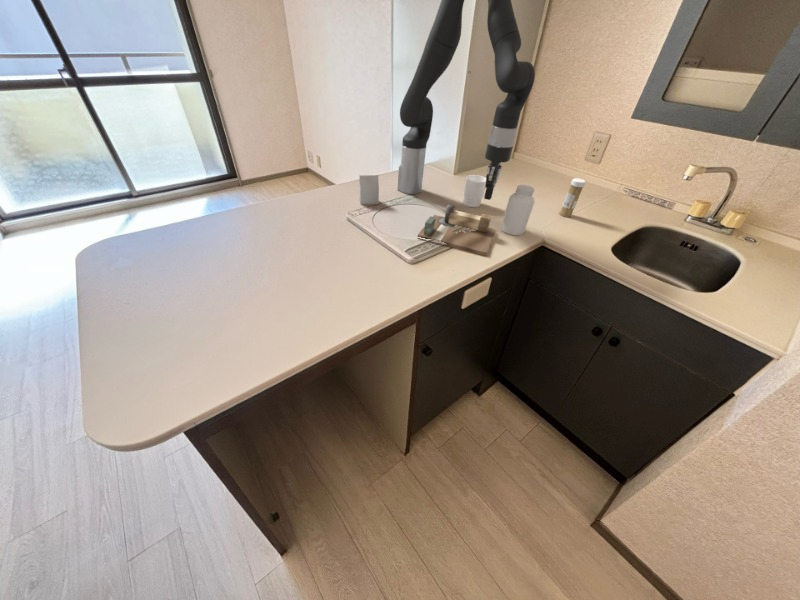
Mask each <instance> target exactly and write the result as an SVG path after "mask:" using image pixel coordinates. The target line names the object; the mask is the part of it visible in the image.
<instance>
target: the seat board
mask: <svg viewBox="0 0 800 600" xmlns="http://www.w3.org/2000/svg"><path fill="white" fill-rule="evenodd" d="M444 219H445V216H441V215H437V214H434V215H433V216H429V217H428V218H427V220H426V221H425V223H424V226H423V228H422V229H421V230H420V231H419V232H418V234H417V237H421V238H425V239H434V240H438V241H441V242H444V243H446V244H447V245H448V246H447V247H449V248H453V249H458V250H460V251H465V252H468V253H472V254H476V255H480V256H484V257H486V256H487V254H488V252H489V249H490V247H491V244H492V242H493V239H494V237H495V235H496V232H497V229H495V228H491V227H488V230H487V232H482V231H478V230H476V231H471V232H467V233H464V232H462V231H461V232H459V231H458V233H457V234H456V233H453V231H452V230H451V229H453V228H455V227H454V226H455V225H454V224H450V223H447V222H445V221H444Z"/></svg>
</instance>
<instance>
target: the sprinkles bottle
mask: <svg viewBox="0 0 800 600" xmlns="http://www.w3.org/2000/svg"><path fill="white" fill-rule="evenodd" d="M585 185H586V180H585V179H582V178H578V177H577V178H576V177H575V178H573V179H572V180H571V182H570V185H569V188H568V192H566V196H565V198H564V201H563V203H562V206H561V208H560V211H559V212H558V213H559V215H560V216H562V217H566V218H567V217H568V218H569V217H571V216H572V215H573V212H574V209H576V208H575V207H576V205H577V203H578V201H579V198H580V195H581V192H582V190H583V188H585Z"/></svg>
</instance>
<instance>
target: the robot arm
mask: <svg viewBox="0 0 800 600" xmlns="http://www.w3.org/2000/svg"><path fill="white" fill-rule="evenodd" d="M487 2H488V3H487V5H488V6H487V7H488V8H487V20H486V21H487V33H488V36H489V39H490V43H491V47H492V50H493V54H494V72H495V73H494V75H495V81H496V84H497V87H498V88H499V89H500V91H501V92H503V93H506V94H507V95H506V97H505V99H504V100H502V102H500V103H499V104H497V106H496V109H495V112H494V116H493V121H492V126H491V129H490V131H489V136H488V141H487V146H486V150H485V155H484V156H485V157H484V159H486V160H487V161H490V163H489V165H488V166H487V170H486V171H487V172H486V176H485V178H486V185H485V191H484V195H483V198H484V200H489V201H490V200H491V199H492V196H493V194H494V193H493V192H494V190H495V187H496V184H497V183H498V180H499V179H500V173H501V171H502V168H503V165H502V163H507V162H510V159H511V155H512V151H513V148H514V144H515V139H516V135H517V129H518V124H519V120H520V117H521V112H522V110H523V108H524V106H525V104H526V102H527V99H528V98H529V96H530V93H531V91H532V89H533V86H534V84H535V77H536V76H535V75H536V72H535V71H536V70H535V67H534V65H533V64H532V63H531V62H529V61H518V59H517V53H518V52H519V51H520V49H521V47H522V39H521V35H520V31H519V27H518V23H517V19H516V16H515V12H514V8H513V3H512V0H487ZM464 3H465V0H441V1H440V3H439V6H438V9H437V12H436V15H435V19H434V21H433V23H432V25H431V28H430V31H429V34H428V37H427V40H426V42H425V45H424V48H423V51H422V54H421V57H420V60H419V62H418V64H417V68H416V71H415V72H414V76H413V78H412V79H411V83H410V84H409V87H408V89H407V91H406V92H405V95H404V98H403V100H402V102H401V103H400V108H399V118H400V122H401V124H402V125H403V126H404V127H407V128H409V130H408V131H407V133H406V134H404V136H403V137H402V141H401V142H402V145H401V159H400V165H399V166H398V176H397V189H396V190H397V191H400V192H401V193H404V194H406V195H407V194H409V195H417V194H421V192H422V188H423V181H424V180H423V178H424V169H425V164H426V163H425V160H426V153H427V152H426V151H427V143H428V141H429V140H430V137H431V131H432V124H433V117H434V106H433V103H432V101H431V99H430V98H429V97H427V96H428V94H429V92H430V90H431V89H432V88H433V86H434V84H435V83H436V82H438V80H439V79H440V77H441V76H443V74H444V73H445V72H446V69H448V67H449V65H450V64H451V62H452V60H453V58H454V56H455V54H456V50H457V49H458V46H459V44H460V40H461V36H462V23H463V19H462V18H463V9H464Z"/></svg>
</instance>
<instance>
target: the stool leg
mask: <svg viewBox="0 0 800 600" xmlns="http://www.w3.org/2000/svg"><path fill="white" fill-rule="evenodd" d="M444 217H445V219H444V221H445V222H447V223H450V224H454V225H458V226H462V227H466V228H470V229H474V230H478V231H482V232H487V230H488V228H490V223H491V219H492V215H490V214H487V213H486V214H485V213H482V214H481V215H476V214H472V213H468V212H463V211H459V210H455V206H454V205H452V204H447V205H446V209H445V215H444Z"/></svg>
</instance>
